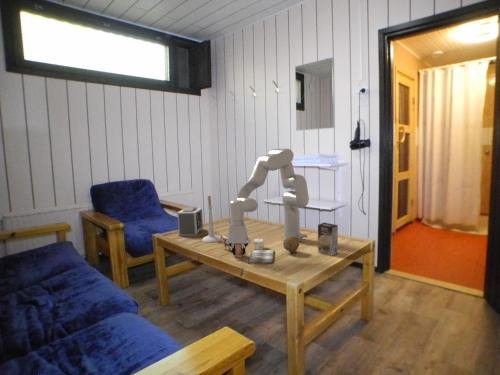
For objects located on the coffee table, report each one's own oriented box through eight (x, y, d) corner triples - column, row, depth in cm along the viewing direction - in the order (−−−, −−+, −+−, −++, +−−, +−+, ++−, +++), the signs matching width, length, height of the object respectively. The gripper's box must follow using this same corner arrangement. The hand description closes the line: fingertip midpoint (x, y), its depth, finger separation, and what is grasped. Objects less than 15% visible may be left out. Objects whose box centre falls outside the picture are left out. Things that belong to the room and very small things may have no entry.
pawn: (243, 254, 172) (243, 240, 171) (242, 257, 168) (241, 243, 167) (235, 254, 173) (234, 240, 172) (234, 257, 168) (233, 243, 167)
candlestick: (199, 239, 206) (196, 195, 202) (217, 235, 211) (214, 192, 207) (205, 244, 194) (202, 197, 190) (224, 240, 200) (222, 195, 196)
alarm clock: (196, 236, 213) (194, 210, 210) (178, 236, 215) (176, 210, 212) (204, 229, 231) (202, 205, 228) (187, 229, 233) (185, 205, 230)
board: (274, 251, 175) (274, 250, 175) (273, 263, 157) (273, 261, 157) (252, 251, 176) (251, 250, 176) (248, 263, 159) (248, 261, 159)
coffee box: (317, 252, 170) (317, 224, 168) (323, 249, 175) (323, 222, 173) (332, 256, 164) (331, 227, 162) (338, 253, 168) (338, 224, 166)
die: (263, 246, 184) (263, 238, 183) (262, 249, 179) (262, 241, 178) (255, 247, 185) (254, 239, 184) (254, 249, 180) (254, 241, 179)
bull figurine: (224, 246, 187) (223, 233, 186) (240, 250, 179) (240, 237, 177) (219, 248, 184) (218, 235, 183) (235, 253, 175) (235, 239, 174)
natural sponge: (291, 256, 165) (290, 239, 164) (280, 252, 173) (279, 235, 171) (302, 252, 171) (302, 235, 169) (291, 249, 178) (291, 232, 177)
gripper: (220, 224, 165) (222, 256, 168) (251, 224, 163) (253, 256, 166) (223, 221, 173) (225, 252, 175) (253, 220, 171) (254, 252, 173)
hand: (238, 254), depth 170 cm, fingers closed on pawn, 4 cm apart
